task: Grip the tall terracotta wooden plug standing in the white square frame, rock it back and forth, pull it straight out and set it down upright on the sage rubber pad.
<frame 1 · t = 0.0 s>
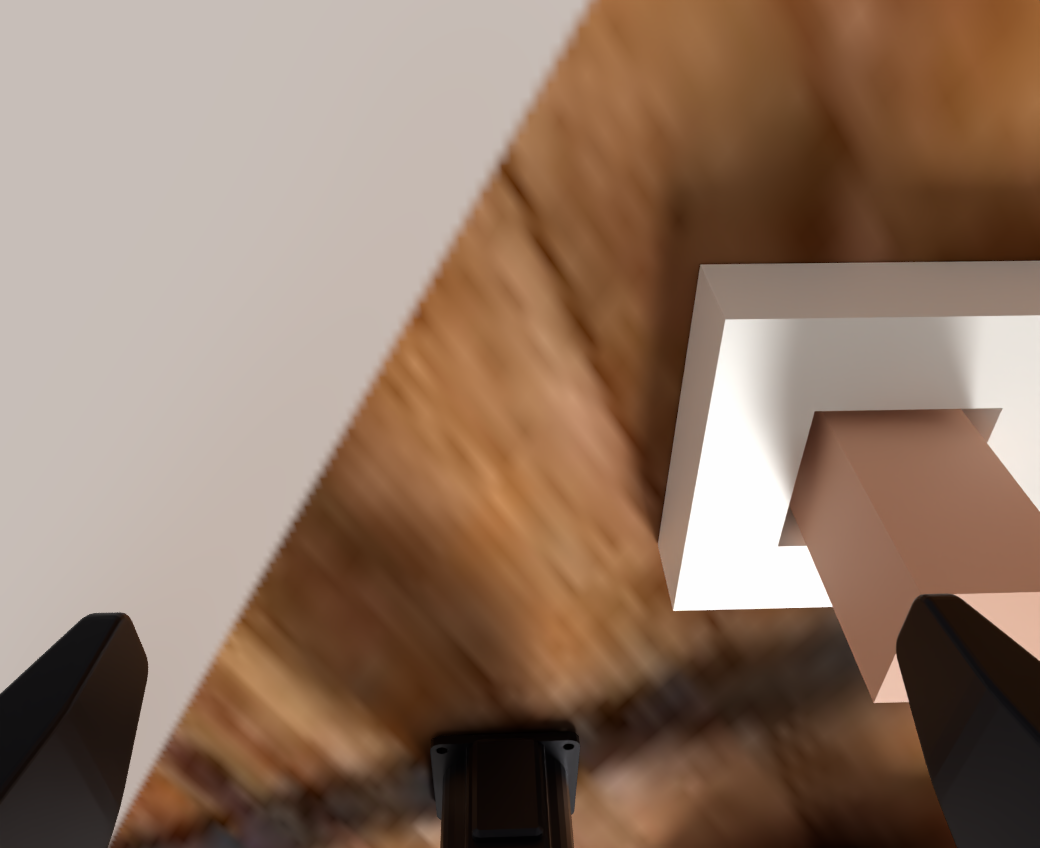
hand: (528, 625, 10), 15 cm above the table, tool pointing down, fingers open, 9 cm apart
white square frame: (847, 419, 27), on the table
plug: (903, 516, 23), in the white square frame
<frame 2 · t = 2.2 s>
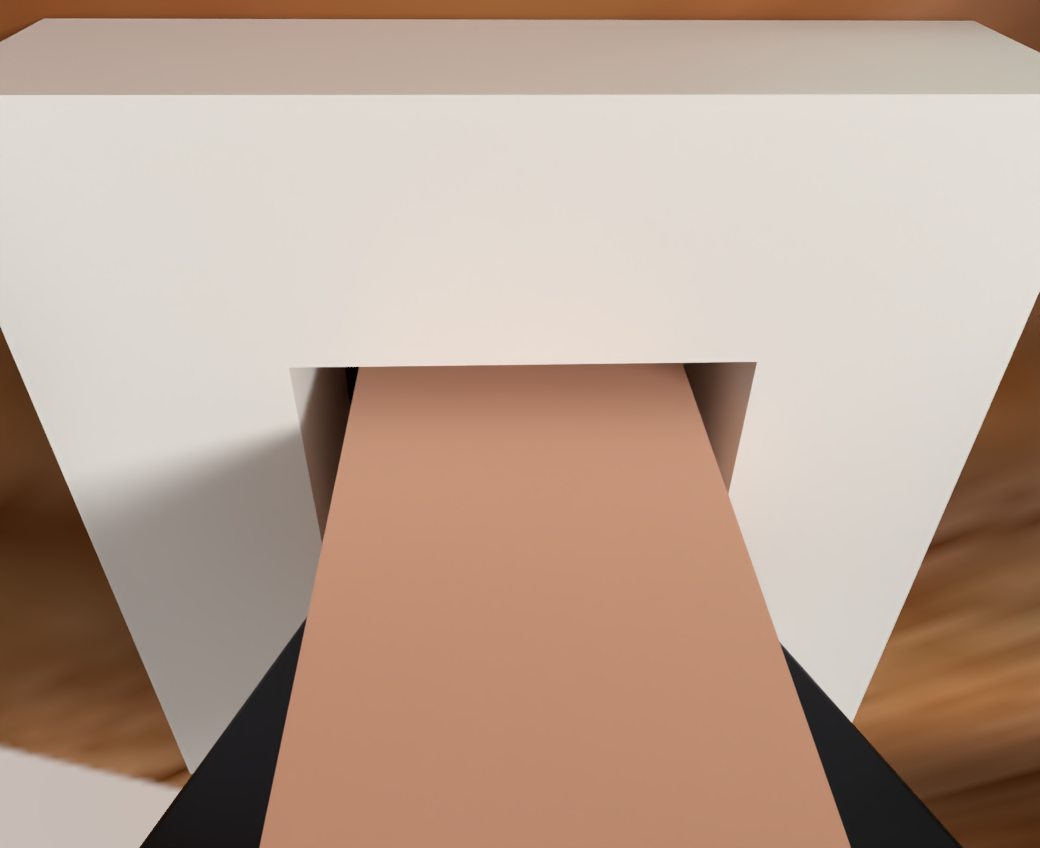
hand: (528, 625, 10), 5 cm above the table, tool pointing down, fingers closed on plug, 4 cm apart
white square frame: (514, 397, 13), on the table
plug: (527, 622, 10), in the white square frame, touching gripper
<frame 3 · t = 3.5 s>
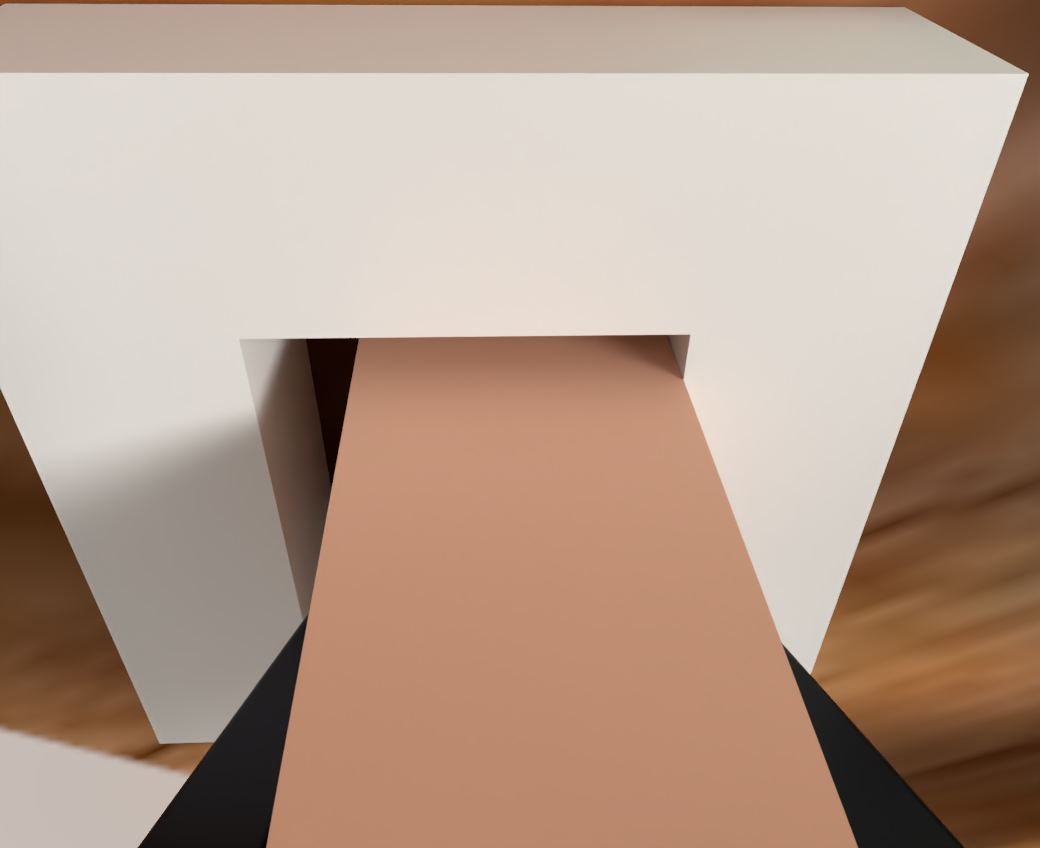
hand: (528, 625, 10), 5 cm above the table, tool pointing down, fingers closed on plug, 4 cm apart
white square frame: (473, 376, 14), on the table
plug: (525, 618, 10), in the white square frame, touching gripper
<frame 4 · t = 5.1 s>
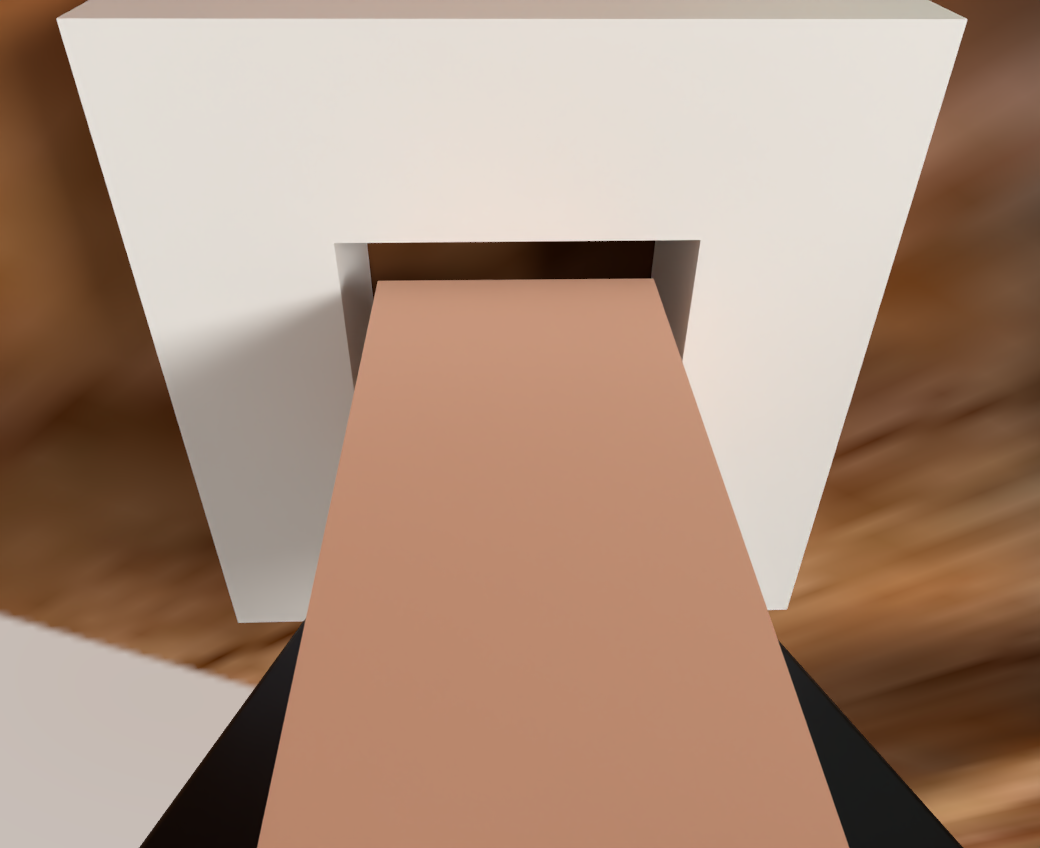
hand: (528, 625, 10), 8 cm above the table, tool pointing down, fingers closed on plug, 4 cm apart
white square frame: (511, 300, 16), on the table
plug: (527, 615, 10), point 8 cm above the table, touching gripper
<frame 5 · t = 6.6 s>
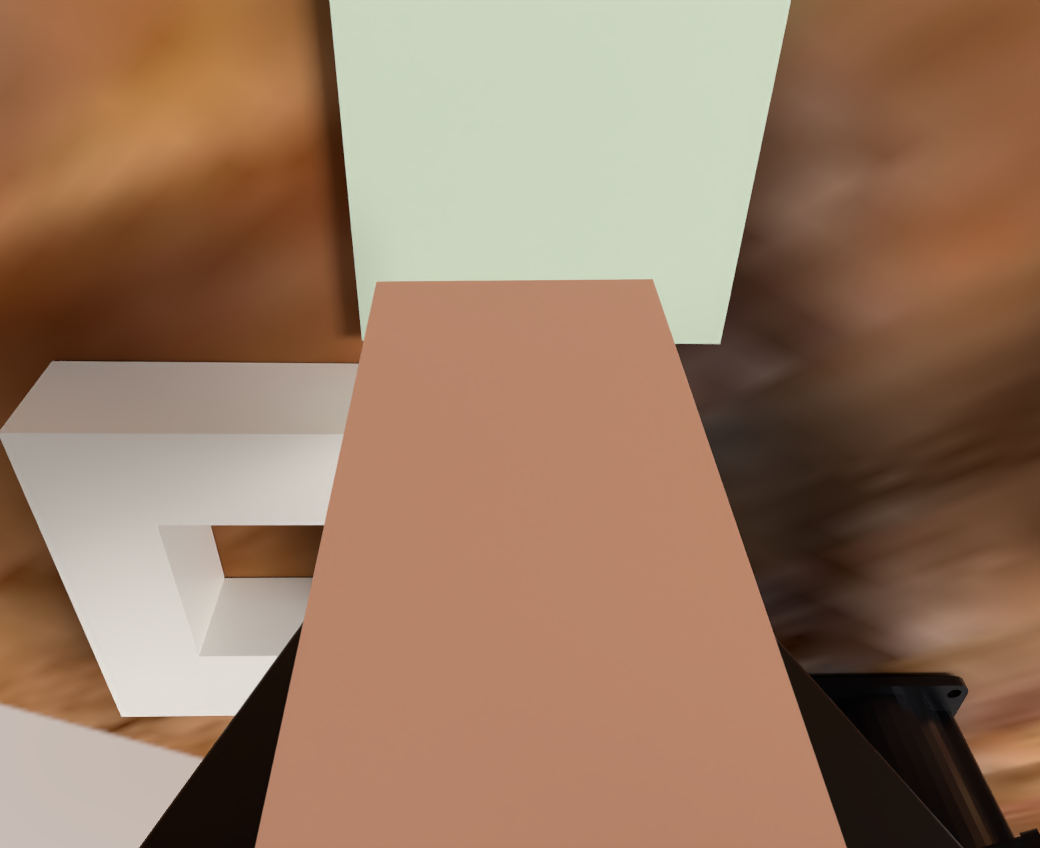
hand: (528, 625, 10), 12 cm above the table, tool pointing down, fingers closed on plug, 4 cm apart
white square frame: (297, 517, 25), on the table
pad: (551, 157, 19), on the table
plug: (526, 616, 10), point 12 cm above the table, touching gripper
when the fingers open (7 cm above the table, at t = 8.0 s): plug drops 2 cm, resting on pad.
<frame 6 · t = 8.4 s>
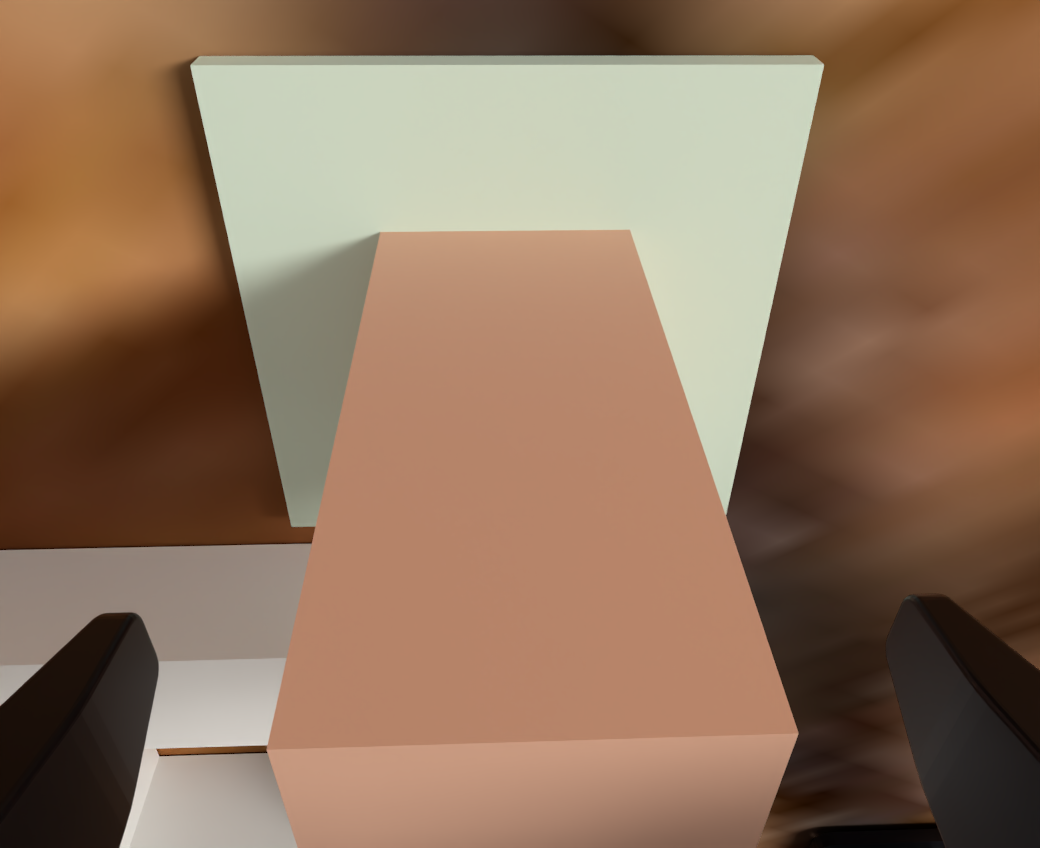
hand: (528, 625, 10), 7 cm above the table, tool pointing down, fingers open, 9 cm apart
white square frame: (236, 697, 21), on the table
pad: (510, 321, 15), on the table
plug: (514, 517, 11), on the pad
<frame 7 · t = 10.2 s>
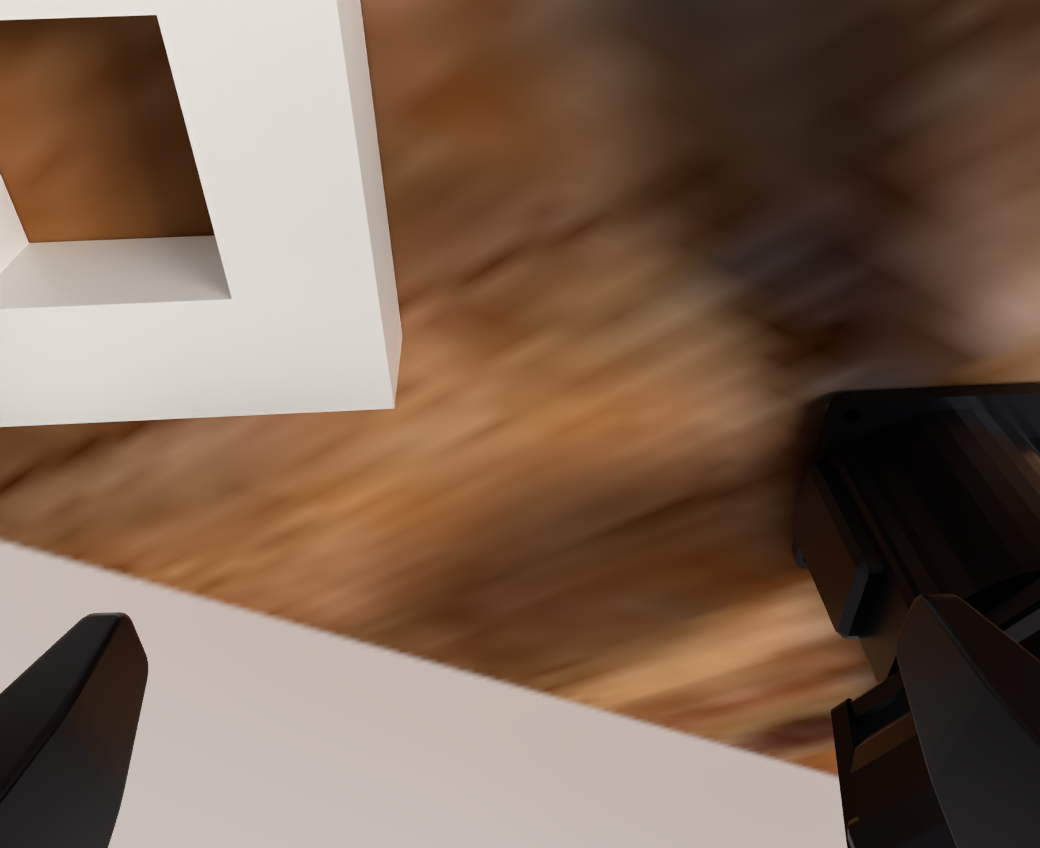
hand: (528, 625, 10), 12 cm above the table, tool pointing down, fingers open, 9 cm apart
white square frame: (108, 122, 17), on the table
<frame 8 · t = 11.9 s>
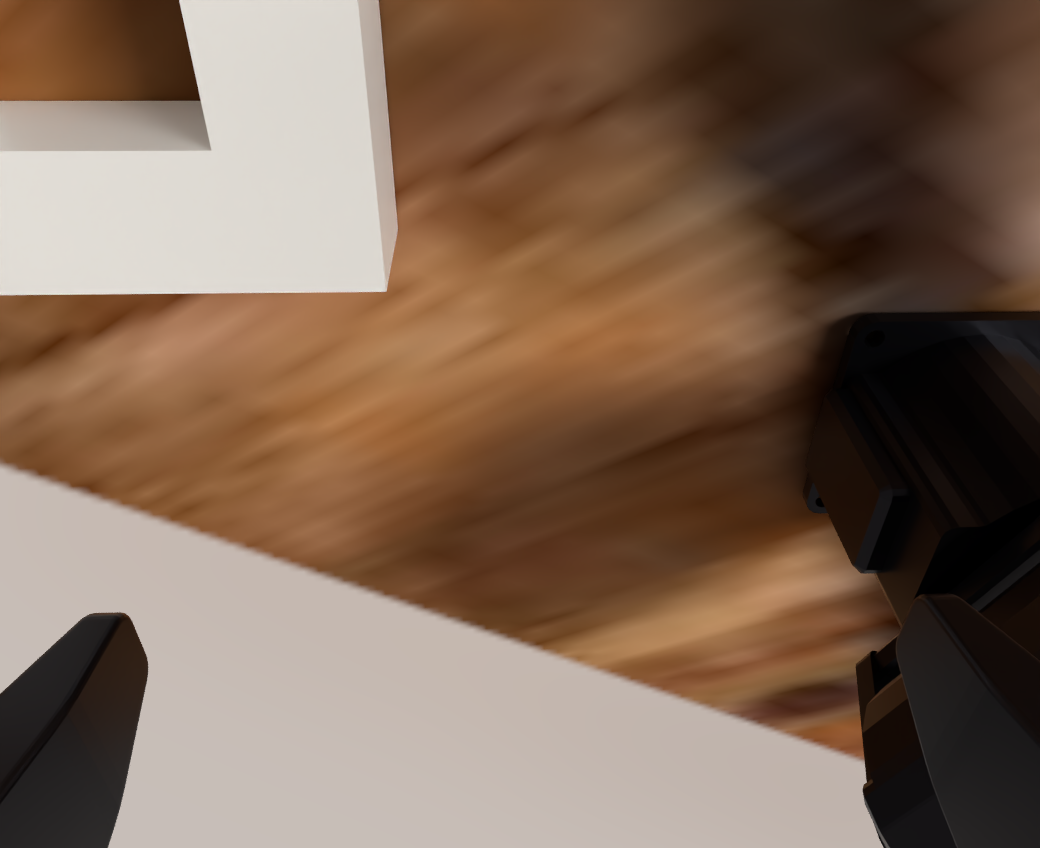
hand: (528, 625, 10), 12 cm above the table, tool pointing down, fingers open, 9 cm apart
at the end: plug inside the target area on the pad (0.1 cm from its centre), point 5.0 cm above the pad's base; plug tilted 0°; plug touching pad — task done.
